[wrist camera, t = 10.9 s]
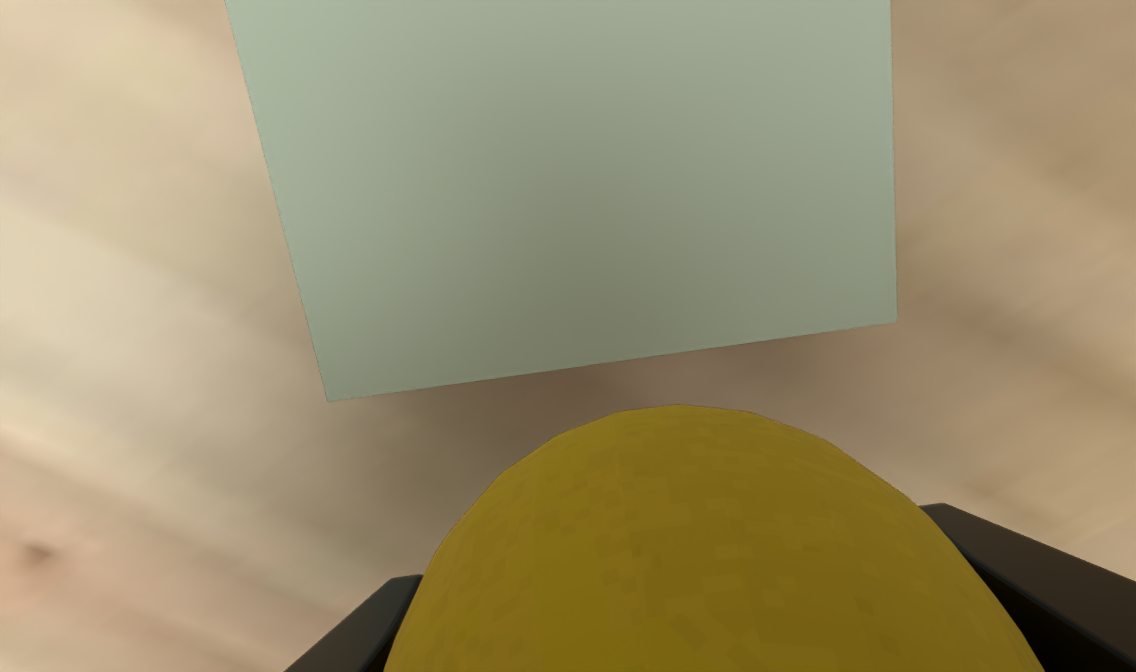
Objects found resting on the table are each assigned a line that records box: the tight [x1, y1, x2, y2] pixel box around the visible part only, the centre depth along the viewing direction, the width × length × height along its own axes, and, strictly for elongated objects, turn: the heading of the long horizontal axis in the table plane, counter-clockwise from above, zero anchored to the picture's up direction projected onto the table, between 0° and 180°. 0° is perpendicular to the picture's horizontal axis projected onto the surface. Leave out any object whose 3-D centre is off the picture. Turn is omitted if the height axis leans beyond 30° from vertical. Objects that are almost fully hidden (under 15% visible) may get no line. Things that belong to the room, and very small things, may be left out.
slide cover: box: [225, 0, 897, 402], centre depth 13 cm, size 11×11×3 cm
